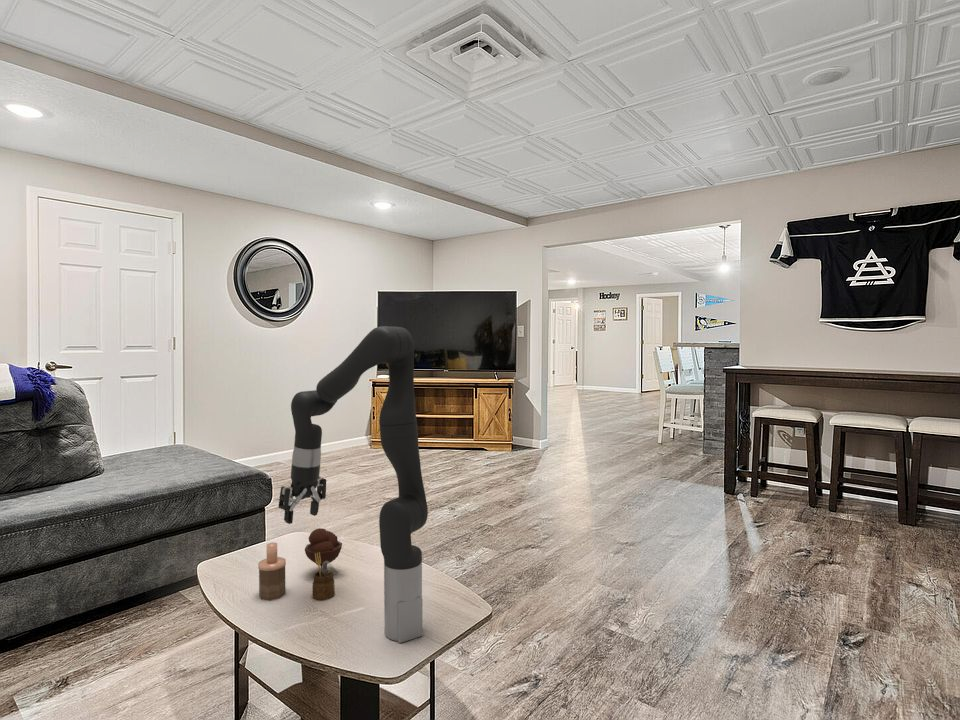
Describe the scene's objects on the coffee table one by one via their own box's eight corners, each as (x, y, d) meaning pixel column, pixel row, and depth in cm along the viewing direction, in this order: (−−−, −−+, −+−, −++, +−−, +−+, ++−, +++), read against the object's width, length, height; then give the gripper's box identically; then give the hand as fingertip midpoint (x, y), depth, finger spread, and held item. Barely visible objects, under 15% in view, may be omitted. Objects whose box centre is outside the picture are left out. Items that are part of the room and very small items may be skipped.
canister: (287, 599, 149) (286, 567, 149) (262, 605, 146) (261, 572, 145) (282, 590, 154) (281, 559, 154) (258, 595, 151) (257, 564, 151)
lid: (288, 567, 149) (288, 545, 148) (260, 573, 145) (260, 551, 145) (282, 558, 155) (282, 538, 155) (256, 563, 151) (255, 542, 151)
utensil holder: (319, 605, 145) (319, 561, 145) (307, 598, 149) (307, 555, 149) (338, 598, 149) (338, 555, 149) (326, 591, 154) (326, 549, 154)
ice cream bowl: (332, 585, 157) (332, 535, 157) (298, 582, 159) (297, 532, 159) (348, 571, 168) (348, 523, 167) (315, 568, 170) (315, 521, 169)
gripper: (294, 470, 140) (289, 530, 141) (335, 460, 152) (330, 515, 153) (275, 463, 144) (270, 521, 145) (317, 454, 156) (312, 508, 157)
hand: (301, 518), depth 149 cm, fingers open, 8 cm apart
